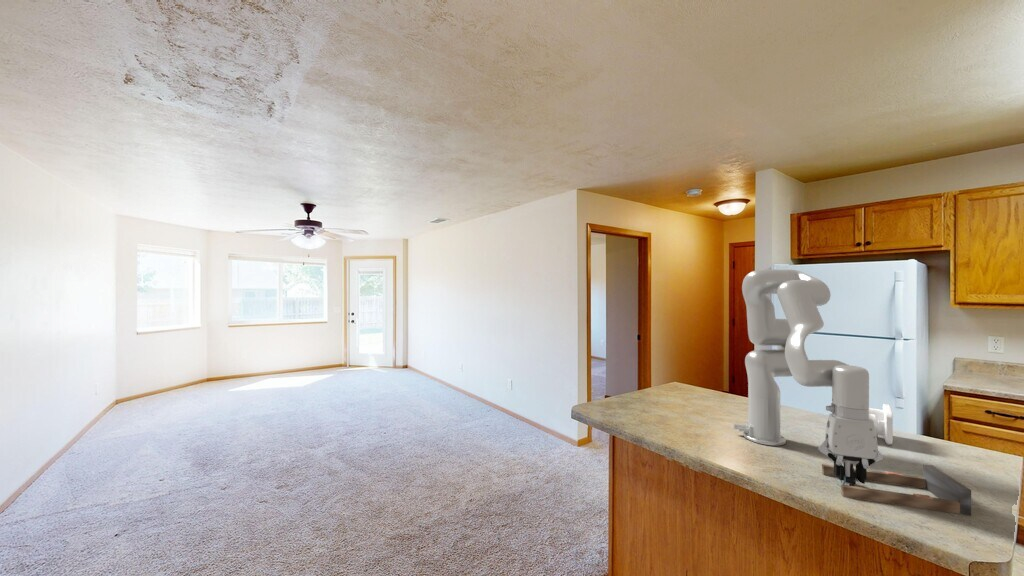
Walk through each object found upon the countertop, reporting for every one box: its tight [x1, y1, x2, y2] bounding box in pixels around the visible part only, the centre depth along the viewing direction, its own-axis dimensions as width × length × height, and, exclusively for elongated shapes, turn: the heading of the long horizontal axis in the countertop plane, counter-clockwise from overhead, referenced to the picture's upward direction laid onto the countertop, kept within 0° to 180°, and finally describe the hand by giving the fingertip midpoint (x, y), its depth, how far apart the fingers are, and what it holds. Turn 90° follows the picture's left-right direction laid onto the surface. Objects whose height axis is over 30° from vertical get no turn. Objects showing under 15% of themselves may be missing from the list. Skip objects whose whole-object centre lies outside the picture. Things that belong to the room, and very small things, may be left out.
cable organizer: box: [869, 403, 894, 446], centre depth 138 cm, size 15×11×12 cm
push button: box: [840, 456, 861, 487], centre depth 105 cm, size 7×5×10 cm
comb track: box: [821, 463, 972, 516], centre depth 102 cm, size 24×14×6 cm, turn 70°
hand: (849, 479), depth 105 cm, fingers open, 3 cm apart
